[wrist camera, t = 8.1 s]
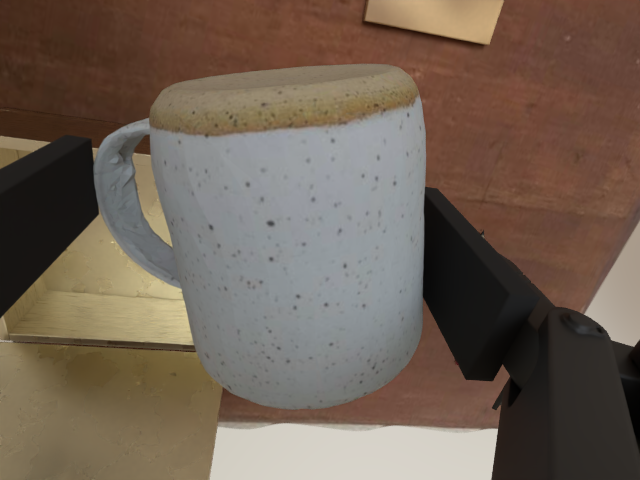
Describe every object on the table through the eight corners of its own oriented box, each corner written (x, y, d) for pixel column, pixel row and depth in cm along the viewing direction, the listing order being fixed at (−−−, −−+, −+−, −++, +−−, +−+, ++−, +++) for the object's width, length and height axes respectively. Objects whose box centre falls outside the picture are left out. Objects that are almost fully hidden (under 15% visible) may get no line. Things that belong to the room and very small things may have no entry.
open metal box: (3, 106, 29) (-67, 127, 24) (248, 140, 32) (241, 166, 26) (44, 291, 38) (-1, 340, 32) (236, 305, 41) (228, 352, 35)
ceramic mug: (390, 47, 13) (501, 73, 6) (390, 253, 17) (456, 403, 10) (73, 81, 13) (-166, 145, 6) (150, 281, 17) (58, 452, 10)
